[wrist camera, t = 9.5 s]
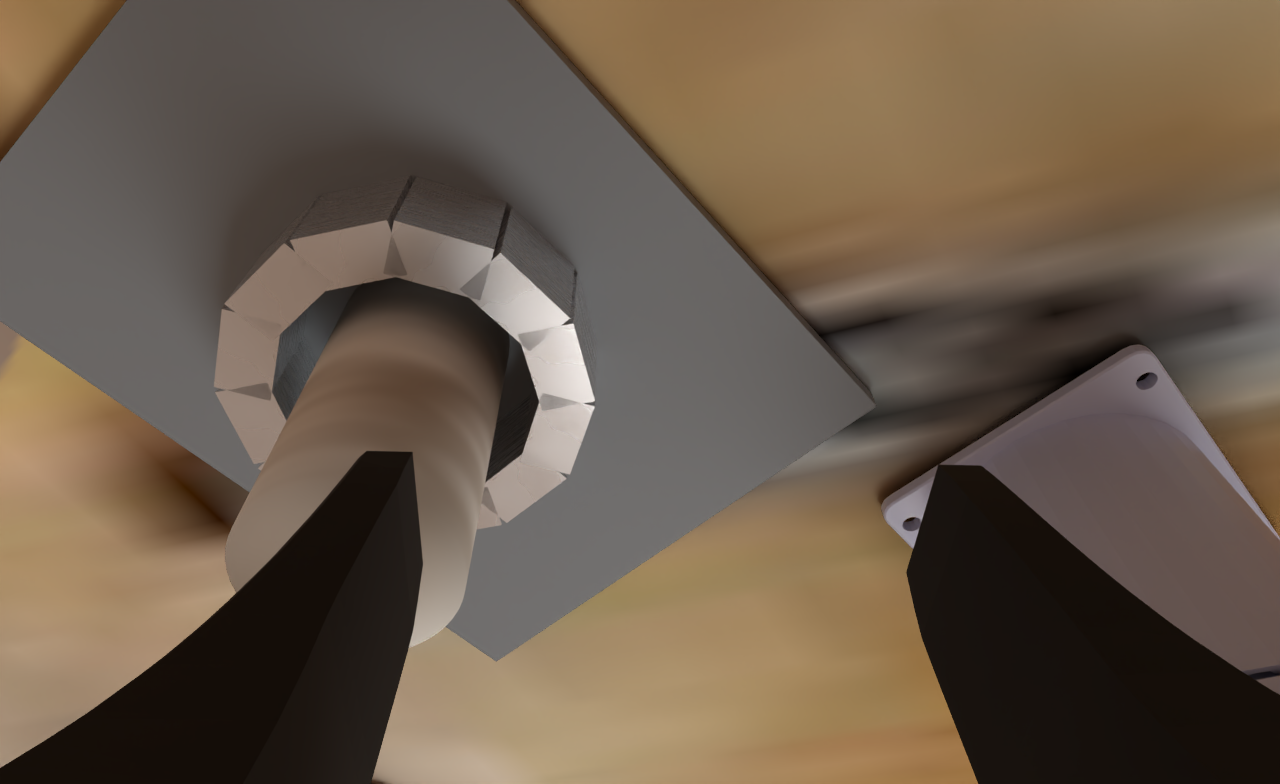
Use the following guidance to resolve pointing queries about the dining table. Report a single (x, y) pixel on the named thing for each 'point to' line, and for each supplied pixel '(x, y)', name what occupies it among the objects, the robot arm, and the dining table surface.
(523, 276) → the ring collar
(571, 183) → the rosette plate
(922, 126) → the dining table surface
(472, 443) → the beige rounded cylinder
